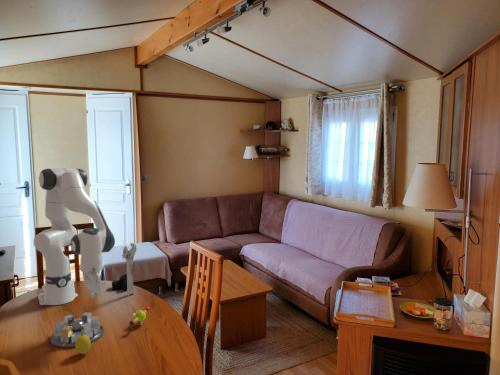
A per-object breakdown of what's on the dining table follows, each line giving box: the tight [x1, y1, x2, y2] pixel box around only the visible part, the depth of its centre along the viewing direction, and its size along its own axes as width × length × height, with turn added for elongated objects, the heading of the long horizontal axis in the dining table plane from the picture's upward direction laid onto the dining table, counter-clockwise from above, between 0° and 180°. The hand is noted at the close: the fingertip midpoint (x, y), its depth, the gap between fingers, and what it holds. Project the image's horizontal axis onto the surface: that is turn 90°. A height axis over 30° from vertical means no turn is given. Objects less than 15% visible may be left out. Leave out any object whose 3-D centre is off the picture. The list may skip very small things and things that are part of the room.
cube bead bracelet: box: [53, 312, 101, 343], centre depth 168 cm, size 18×18×6 cm
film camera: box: [111, 273, 127, 292], centre depth 223 cm, size 15×10×9 cm, turn 21°
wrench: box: [121, 242, 137, 297], centre depth 211 cm, size 8×2×30 cm, turn 134°
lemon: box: [74, 335, 92, 356], centre depth 152 cm, size 6×6×8 cm
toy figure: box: [128, 306, 151, 327], centre depth 179 cm, size 18×6×7 cm, turn 169°
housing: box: [49, 320, 105, 349], centre depth 168 cm, size 21×21×6 cm
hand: (92, 296), depth 171 cm, fingers closed
